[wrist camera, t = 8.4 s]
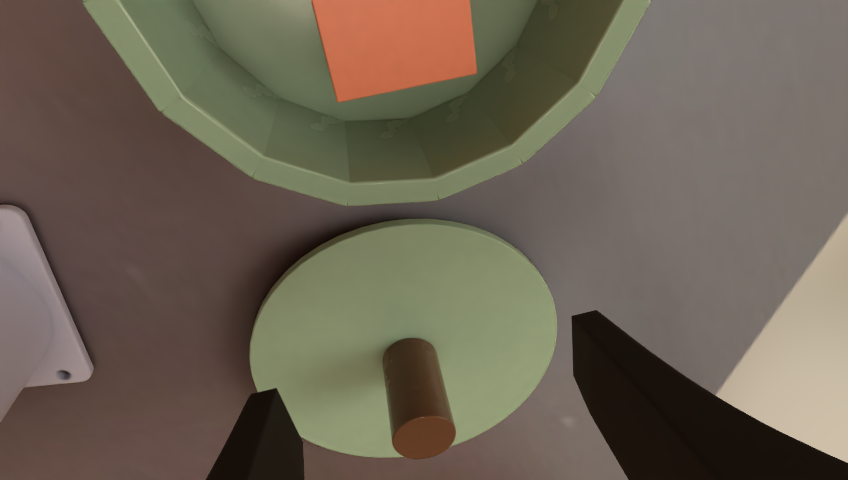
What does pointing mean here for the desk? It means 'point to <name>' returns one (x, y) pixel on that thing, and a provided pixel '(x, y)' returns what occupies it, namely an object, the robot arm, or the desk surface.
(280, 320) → the lid
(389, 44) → the orange square prism
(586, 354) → the robot arm
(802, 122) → the desk surface
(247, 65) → the pot
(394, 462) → the desk surface
